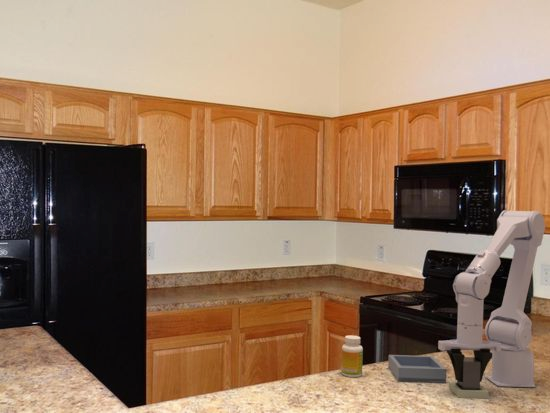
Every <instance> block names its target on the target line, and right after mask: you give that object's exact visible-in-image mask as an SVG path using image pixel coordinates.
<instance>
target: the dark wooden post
mask: <svg viewBox="0 0 550 413" xmlns="http://www.w3.org/2000/svg"><path fill="white" fill-rule="evenodd" d="M480 365H481V362H480V361H479V360H477V359H476V358H475V357H474V356H465V357H464V361H463V368H462V382H458V381H457V380H456V382H457V386H458V387H459V388H460V389H461V390H480V385H481V382H480Z"/></svg>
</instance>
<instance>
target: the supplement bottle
mask: <svg viewBox="0 0 550 413" xmlns="http://www.w3.org/2000/svg"><path fill="white" fill-rule="evenodd" d="M344 343H345V344H343V345H342V347H341V364H340V365H341V367H340V373H341V375H342V376H344V377H347V378H358V377H361V376H362V375H363V359H364V358H363V355H364V354H363V353H364V348H363V346H362V345H361V337H360V336H359V335H351V334H350V335H348V334H347V335H345V336H344Z"/></svg>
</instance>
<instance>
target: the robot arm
mask: <svg viewBox="0 0 550 413" xmlns="http://www.w3.org/2000/svg"><path fill="white" fill-rule="evenodd" d="M496 227H497V228H496V231H495V233H494V234H493V237H492V239H491V240H490V242H489V244H488V245H487V247H486V249H481V250H479V251H478V252H477V254H476V255H475V257H474V258H473V260H472V261H471V263H470V264H469V265H468V266H467V268H466V270H465V271H462V272H460V273H459V274H457V275H456V276H455V278H454V280H453V284H452V288H453V292H454V295H455V301H456V303H457V325H456V327H457V328H456V339H449V340H448V339H447V340H438V343H437V345H438V346H437V347H438V350H440V351H441V352H442V351H443V352H445V351H446V353H447V355H448V357H449V360H450V362H451V365H452V368H453V373H454V377H455V380H456V382H457V381H458V382H462V368H463V361H464V357H466V355H465V354H464V353H463V352H462V351H473V357H475V358H476V359H477V360H479V361H480V362H481V365H480V383H482V380H483V376H485V378H487V380H489V381H490V382H491V383H493V384H494V385H495V386H497V387H509V388H511V387H513V388H516V387H517V388H535V387H536V385H535V383H534V382H535V381H534V377H535V357H534V354H533V351H532V350H531V349H530V348H528V347H529V345H530V344H531V342H532V335H533V334H532V325H533V322H532V321H531V319H530V317H528V315H527V314H526V313H525V312H524V310H525V306H526V302H527V297H528V293H529V292H528V291H529V287H530V283H531V278H532V274H533V269H534V265H535V261H536V256H537V252H538V247H540V246H541V245H542V243H543V238H544V234H545V229H546V222H545V218H544V216H543V214H542V212H541V211H538V210H532V211H531V210H529V211H528V210H527V211H525V210H508V209H504V210H503V211H501V213H500V214H499V216H498V218H497V219H496ZM510 245H511V246H513V248H514V251H513V256H512V261H511V264H510V269H509V273H508V277H507V281H506V287H505V289H504V295H503V300H502V303H501V306H500V307H498V308H496V309H495V310H493V311H492V312H491V313H490V316H489V319H488V321H487V322H486V325H485V328H484V300H485V298H486V297H487V296H488V295H489V293H490V289H491V283H492V278H493V276H494V275H495V273H496V272H497V270H498V269H499V267H500V265H501V262H502V261H501V259H500V257H501V255H503V254H504V253H505V251H506V249H507V248H508V247H509V246H510ZM483 329H484V330H483ZM483 331H484V335H485V337H486V340H485V339H484V340H483ZM490 361H491V374H485V375H484V373H485V372H486V368H487V366H488V365H489V362H490Z"/></svg>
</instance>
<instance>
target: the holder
mask: <svg viewBox="0 0 550 413" xmlns="http://www.w3.org/2000/svg"><path fill="white" fill-rule="evenodd" d="M448 389H449V390H450V391H451V392H452V393H453V394H454V395H455V396H456V397H457V398H461V399H462V398H463V399H464V398H465V399H466V398H467V399H489V398H490V397H489V393H490V392H489V391H488V390H487V389H486V388H485V387H484V386H482V384H480V390H461V389H460V388H459V387H458V386H457V381H449V380H448Z"/></svg>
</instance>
